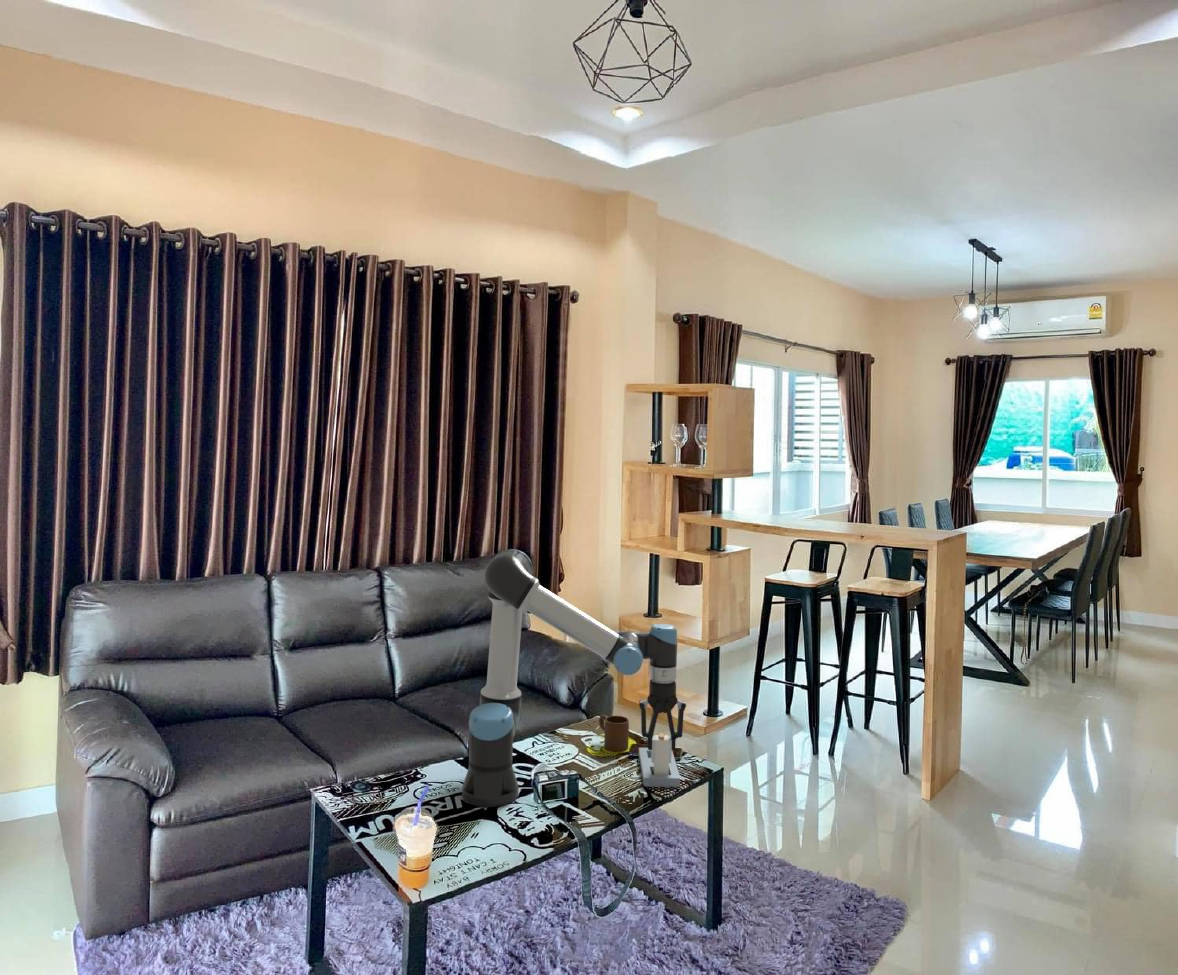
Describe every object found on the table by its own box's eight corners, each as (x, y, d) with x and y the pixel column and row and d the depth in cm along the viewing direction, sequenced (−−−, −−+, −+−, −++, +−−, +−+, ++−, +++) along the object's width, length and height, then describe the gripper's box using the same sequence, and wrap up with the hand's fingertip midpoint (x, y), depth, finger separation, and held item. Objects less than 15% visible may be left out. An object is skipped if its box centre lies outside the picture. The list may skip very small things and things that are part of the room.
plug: (654, 774, 227) (655, 737, 227) (653, 769, 231) (654, 732, 231) (668, 775, 228) (669, 737, 227) (667, 769, 232) (668, 732, 231)
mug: (590, 743, 257) (590, 714, 256) (608, 738, 262) (608, 709, 261) (615, 755, 248) (615, 725, 247) (633, 749, 252) (634, 720, 252)
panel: (643, 788, 225) (644, 777, 224) (638, 757, 247) (638, 747, 246) (679, 788, 225) (680, 778, 225) (671, 757, 247) (671, 748, 246)
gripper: (633, 683, 224) (631, 765, 226) (694, 684, 224) (692, 766, 226) (631, 675, 232) (630, 755, 233) (691, 676, 232) (689, 755, 233)
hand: (661, 760), depth 229 cm, fingers closed on plug, 4 cm apart
